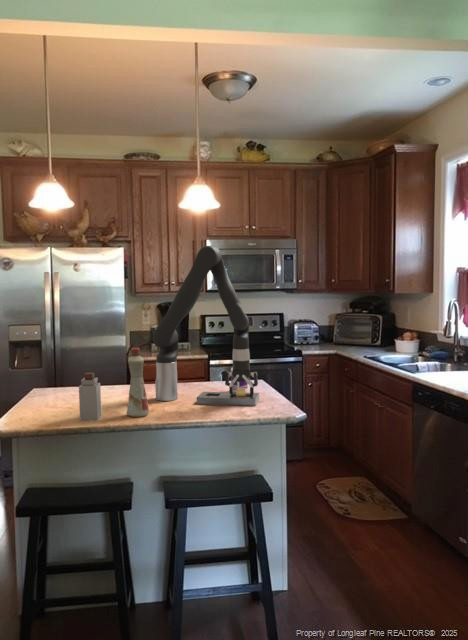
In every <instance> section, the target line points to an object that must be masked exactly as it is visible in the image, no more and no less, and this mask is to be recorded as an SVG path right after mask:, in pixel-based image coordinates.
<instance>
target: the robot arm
mask: <svg viewBox="0 0 468 640" xmlns="http://www.w3.org/2000/svg"><path fill="white" fill-rule="evenodd" d="M209 272H211V274H212V276H213V279H214V281H215V284H216V287H217V288H216V289H217V291H218V294H219V297H220V300H221V302H222V304H223V306H224V309H225V310H226V312H227V315H228V318H229V320H230V323H231V325H232V327H233V337H232V338H233V339H232V367H233V372H231V371H228V370H227V371H225V380H224V381H225V384H224V385H225V386H228V387H229V392H230V394H231V395H233V384H234V383H235V382H236V381H237V382H247V383H248V386H249V393H250V396H252V395H253V393H255V392H254V389H255V387H257V386H258V384H259V379H258V371H253V372H251V369H250V367H251V365H250V364H251V363H250V362H251V353H250V340H249V339H250V338H249V331H250V320H249V317H248V316H247V314H245V311H244V310H243V308H242V306H241V301H240V298H239V297H238V295H237V292H236V290H235V288H234V286H233V283H232V281H231V279H230V277H229V275H228V272H227V270H226V267H225V263H224V260H223V256H222V253H221V251H220V249H219V248H218V247H217V246H214V245H205V246H203V247H201V248H200V249H199V250H198V252H197V254H196V257H195V258H194V261H193V264H192V266H191V269H190V270H189V272H188V274H187V275H186V277H185V279H183V282H182V283H181V286H179V289H178V291H177V293H176V294H175V296H174V299H173V300H172V302H171V304H170V306H169V307H168V310H167V312H166V313H165V315H164V317H163V319H162V320H161V322H160V323H159V324H158V326H157V327H156V329H155V330H154V331H153V335H152V342H153V344H154V346H155V347H157V348H159V351H158V353H157V355H156V358H155V359H156V363H155V365H156V366H155V368H156V378H155V385H154V388H155V400H156V401H161V402H169V401H177V400H178V395H179V394H178V365H177V364H178V363H177V359H178V355H179V334H178V332H177V330H176V329H177V327H178V326H179V324H180V323H181V322H182V321H183V319H184V318H185V317H187V315H188V314H189V313H190V312H191V311H192V310H193V308H194V306H195V304H196V303H197V300H198V299H199V297H200V294H201V292H202V287H203V284H204V281H205V279H206V277H207V275H208V274H209ZM231 375H232V376H233V377H234V379H233V381H232V382H231V381H230V378H231ZM250 377H252V378H253V381H252V380H251V378H250Z"/></svg>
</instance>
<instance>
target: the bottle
mask: <svg viewBox="0 0 468 640" xmlns="http://www.w3.org/2000/svg"><path fill="white" fill-rule="evenodd" d="M140 349H141V348H140V347H137V346H133V347H131V349H130V351H131V352H130V354H131V356H130V358H129V359H128V361H127V362H128V368H129V373H130V383H129V391H128V392H129V393H128V401H127V402H128V403H127V408H126V415H128V416H129V417H132V418H143V417H146V416H148V415H149V412H150V407H149V404H148V403H149V402H148V397H147V392H146V387H145V386H146V385H145V381H144V376H143V375H144V373H143V372H144V363H145V360H144V358H143V357H142V356H141V351H140Z"/></svg>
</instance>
